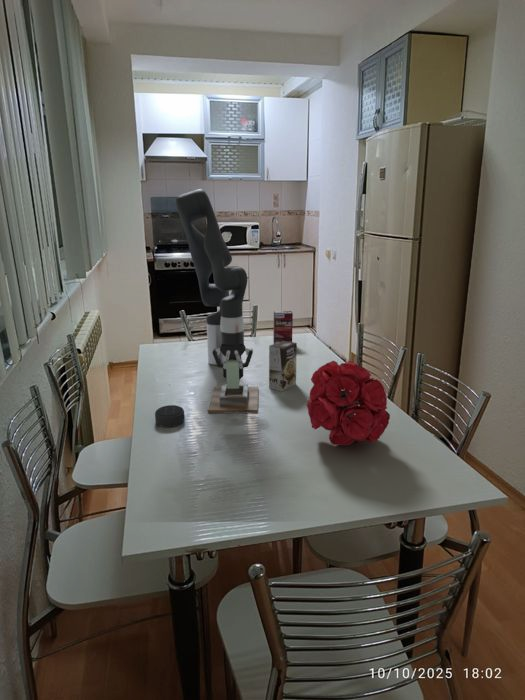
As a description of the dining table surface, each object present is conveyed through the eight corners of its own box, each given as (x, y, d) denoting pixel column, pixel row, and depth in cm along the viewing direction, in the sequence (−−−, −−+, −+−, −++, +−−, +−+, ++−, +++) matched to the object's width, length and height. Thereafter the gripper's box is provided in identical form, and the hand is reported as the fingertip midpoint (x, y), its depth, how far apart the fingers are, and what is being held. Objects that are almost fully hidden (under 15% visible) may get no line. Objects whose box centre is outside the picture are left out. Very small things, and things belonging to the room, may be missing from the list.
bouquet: (293, 447, 144) (323, 444, 115) (289, 371, 149) (317, 349, 121) (360, 445, 148) (405, 441, 119) (354, 371, 153) (396, 350, 125)
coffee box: (282, 391, 169) (283, 348, 164) (268, 387, 173) (268, 345, 168) (297, 384, 176) (297, 342, 171) (282, 380, 180) (282, 339, 175)
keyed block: (226, 388, 157) (226, 362, 154) (228, 380, 164) (227, 356, 161) (238, 388, 157) (238, 362, 154) (240, 380, 164) (239, 356, 161)
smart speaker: (169, 431, 141) (168, 418, 140) (149, 423, 146) (148, 411, 145) (190, 420, 148) (190, 408, 147) (171, 413, 153) (170, 402, 152)
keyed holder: (214, 389, 172) (213, 380, 171) (258, 389, 172) (258, 380, 171) (207, 412, 153) (207, 402, 152) (257, 412, 153) (257, 402, 152)
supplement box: (274, 346, 222) (274, 313, 218) (273, 343, 227) (273, 311, 222) (292, 345, 223) (293, 312, 218) (291, 343, 228) (291, 310, 223)
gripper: (209, 332, 151) (211, 382, 156) (253, 332, 151) (254, 382, 156) (211, 326, 158) (213, 374, 163) (254, 326, 158) (254, 374, 163)
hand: (233, 378), depth 160 cm, fingers closed on keyed block, 4 cm apart
